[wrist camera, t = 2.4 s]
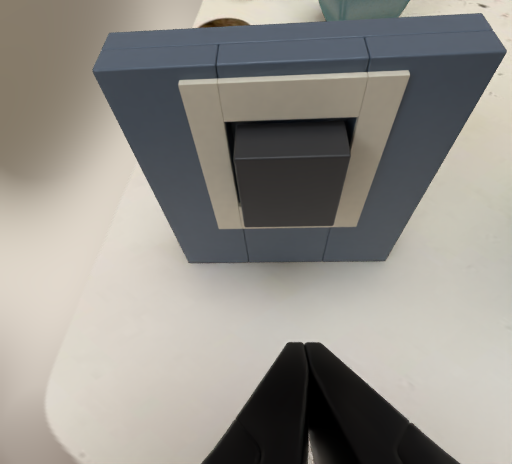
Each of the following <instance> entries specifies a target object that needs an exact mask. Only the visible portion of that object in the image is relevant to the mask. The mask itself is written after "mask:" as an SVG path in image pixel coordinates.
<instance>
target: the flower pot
mask: <svg viewBox="0 0 512 464" xmlns="http://www.w3.org/2000/svg"><path fill="white" fill-rule="evenodd" d="M409 1H410V0H319V3H320V6H321V9H322V12H323V14H324V17H325V19H326V21H344V20H362V19H381V18H398V16H399V15H400V14H401V13H402V11H403V10H404V9H405V7H406V6H407V4H408V2H409Z"/></svg>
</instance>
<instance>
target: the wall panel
mask: <svg viewBox="0 0 512 464" xmlns="http://www.w3.org/2000/svg"><path fill="white" fill-rule="evenodd" d="M506 52H507V50H506V49H505V47H504V46H503V44H502V43H501V41H500V40H499V38H498V37H497V35H496V34H495V32H494V31H493V29H492V28H491V26H490V25H489V23H488V22H487V20H486V19H485V17H484V16H483V14H481V13H476V14H457V15H438V16H419V17H400V18H381V19H362V20H344V21H325V22H306V23H287V24H268V25H249V26H230V27H211V28H192V29H173V30H154V31H135V32H117V33H109V34H108V37H107V39H106V41H105V43H104V45H103V47H102V51H101V52H100V54H99V57H98V59H97V61H96V63H95V65H94V68H93V73H94V75H95V77H96V79H97V81H98V83H99V85H100V87H101V89H102V91H103V93H104V95H105V97H106V99H107V101H108V103H109V105H110V107H111V109H112V111H113V113H114V115H115V117H116V119H117V121H118V123H119V125H120V127H121V129H122V131H123V133H124V135H125V137H126V139H127V141H128V143H129V145H130V147H131V149H132V151H133V153H134V155H135V157H136V159H137V161H138V163H139V165H140V167H141V169H142V171H143V173H144V175H145V177H146V179H147V181H148V183H149V185H150V187H151V189H152V191H153V193H154V195H155V197H156V198H157V200H158V202H159V204H160V206H161V208H162V210H163V212H164V214H165V216H166V218H167V220H168V222H169V224H170V226H171V228H172V230H173V232H174V234H175V236H176V238H177V240H178V242H179V244H180V246H181V248H182V250H183V252H184V254H185V256H186V258H187V260H188V262H189V263H231V262H321V261H323V262H330V261H385V260H386V259H387V257H388V255H389V253H390V252H391V250H392V248H393V247H394V245H395V243H396V241H397V240H398V238H399V236H400V235H401V233H402V231H403V229H404V228H405V226H406V224H407V222H408V221H409V219H410V217H411V216H412V214H413V212H414V210H415V209H416V207H417V205H418V204H419V202H420V200H421V198H422V197H423V195H424V193H425V192H426V190H427V188H428V186H429V185H430V183H431V181H432V180H433V178H434V176H435V174H436V173H437V171H438V169H439V168H440V166H441V164H442V162H443V161H444V159H445V157H446V156H447V154H448V152H449V150H450V149H451V147H452V145H453V144H454V142H455V140H456V138H457V137H458V135H459V133H460V132H461V130H462V128H463V126H464V125H465V123H466V121H467V120H468V118H469V116H470V114H471V113H472V111H473V109H474V108H475V106H476V104H477V102H478V101H479V99H480V97H481V95H482V94H483V92H484V90H485V89H486V87H487V85H488V83H489V82H490V80H491V78H492V77H493V75H494V73H495V71H496V70H497V68H498V66H499V65H500V63H501V61H502V59H503V58H504V56H505V54H506ZM324 121H344V122H345V126H346V131H347V137H348V142H349V148H350V154H351V158H350V162H349V166H348V170H347V174H346V178H345V182H344V186H343V190H342V194H341V198H340V202H339V206H338V210H337V214H336V218H335V222H334V225H333V226H303V227H245V226H244V221H243V215H242V209H241V203H240V197H239V190H238V184H237V178H236V172H235V166H234V146H235V132H236V126H237V125H239V124H267V123H295V122H324Z"/></svg>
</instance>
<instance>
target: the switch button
mask: <svg viewBox="0 0 512 464" xmlns="http://www.w3.org/2000/svg"><path fill="white" fill-rule="evenodd" d="M350 158H351V154H350V148H349V142H348V137H347V131H346V126H345V122H344V121H324V122H295V123H267V124H239V125H237V126H236V132H235V146H234V166H235V172H236V178H237V184H238V190H239V197H240V203H241V209H242V215H243V221H244V226H245V227H303V226H333V225H334V222H335V218H336V214H337V210H338V206H339V202H340V198H341V194H342V190H343V186H344V182H345V178H346V174H347V170H348V166H349V162H350Z"/></svg>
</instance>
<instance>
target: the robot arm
mask: <svg viewBox="0 0 512 464" xmlns="http://www.w3.org/2000/svg"><path fill="white" fill-rule="evenodd" d="M309 439H310V444H311V450H312V455H313V460H314V464H460V463H459V462H458V461H456V460H455V459H454V458H452V457H451V456H450V455H449V454H447V453H446V452H445V451H444V450H443V449H441V448H440V447H439V446H438V445H437V444H435V443H434V442H433V441H432V440H431V439H430V438H428V437H427V436H426V435H425V434H424V433H423V432H421V431H420V430H419V429H418V428H417V427H416V426H415V425H414V424H412V423H409V420H408V419H407V418H405V417H404V416H403V415H402V414H401V413H400V412H399V411H397V410H396V409H395V408H394V407H393V406H392V405H391V404H390V403H388V402H387V401H386V400H385V399H384V398H383V397H382V396H380V395H379V394H378V393H377V392H376V391H375V390H374V389H373V388H371V387H370V386H369V385H368V384H367V383H366V382H365V381H363V380H362V379H361V378H360V377H359V376H358V375H357V374H356V373H354V372H353V371H352V370H351V369H350V368H349V367H348V366H346V365H345V364H344V363H343V362H342V361H341V360H340V359H339V358H337V357H336V356H335V355H334V354H333V353H332V352H331V351H329V350H328V349H327V348H326V347H325V346H324V345H323V344H321V343H319V342H307V343H305V344H303V343H301V342H289V343H287V344H286V346H285V347H284V349H283V350H282V352H281V353H280V355H279V356H278V357H277V359H276V360H275V362H274V363H273V365H272V366H271V368H270V369H269V371H268V372H267V373H266V375H265V376H264V378H263V379H262V381H261V382H260V384H259V385H258V387H257V388H256V389H255V391H254V392H253V394H252V395H251V397H250V398H249V400H248V401H247V403H246V404H245V406H244V407H243V408H242V410H241V411H240V413H239V414H238V416H237V417H236V420H234V421H233V423H232V424H231V426H230V427H229V429H228V430H227V432H226V433H225V434H224V436H223V437H222V438H221V440H220V441H219V442H218V444H217V445H216V446H215V448H214V449H213V450H212V451H211V453H210V454H209V455H208V456H207V457H206V458H205V460H204V461H203V462H202V463H201V464H308V452H309Z"/></svg>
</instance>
